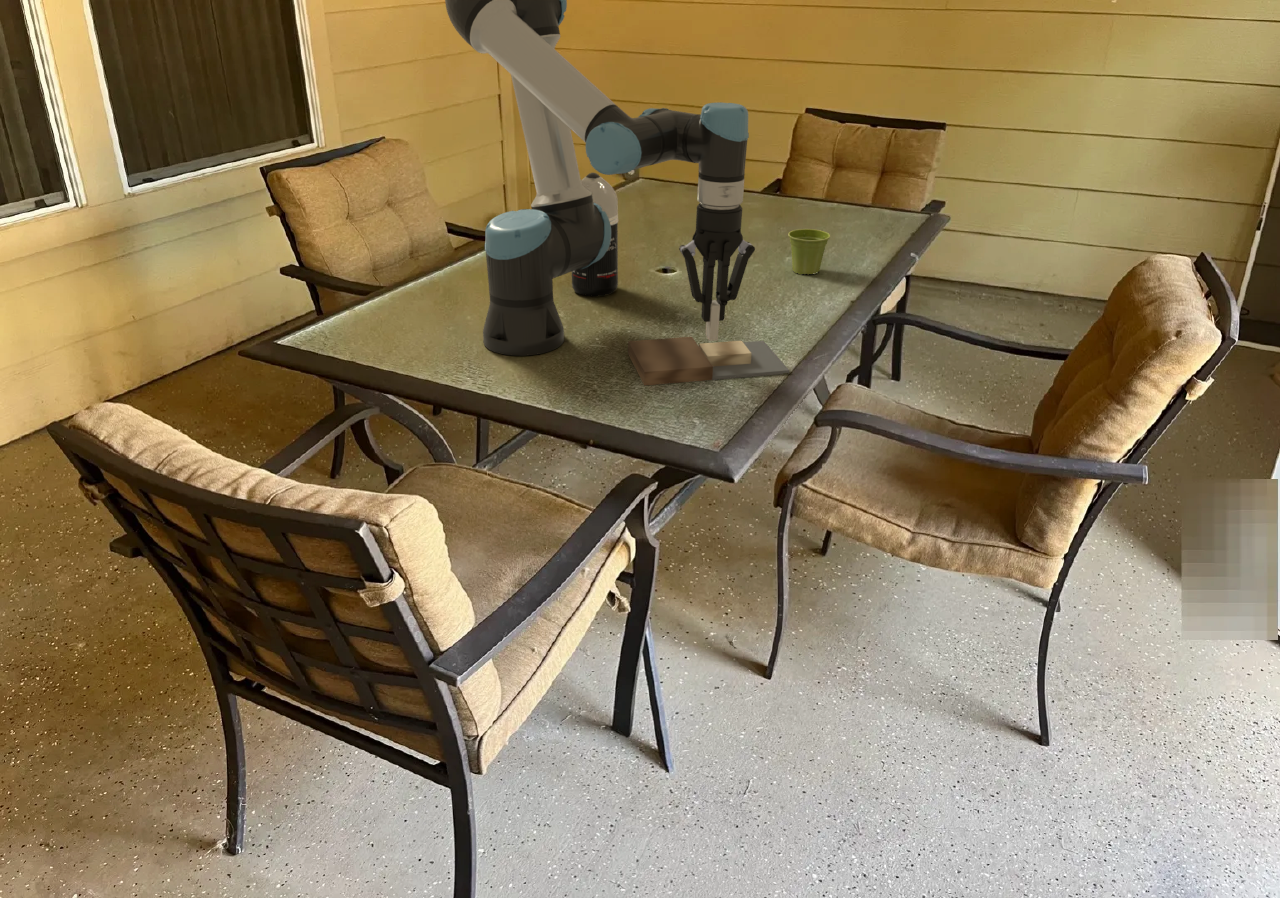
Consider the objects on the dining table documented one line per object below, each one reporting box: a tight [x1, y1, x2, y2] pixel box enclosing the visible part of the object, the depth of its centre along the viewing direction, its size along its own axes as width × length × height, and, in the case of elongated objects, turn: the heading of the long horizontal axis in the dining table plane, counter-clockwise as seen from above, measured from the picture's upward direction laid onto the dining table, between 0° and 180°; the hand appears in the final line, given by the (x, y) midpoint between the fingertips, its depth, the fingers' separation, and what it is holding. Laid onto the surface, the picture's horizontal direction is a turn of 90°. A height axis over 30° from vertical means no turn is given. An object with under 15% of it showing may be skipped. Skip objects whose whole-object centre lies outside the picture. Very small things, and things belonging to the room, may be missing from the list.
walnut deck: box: [627, 336, 713, 386], centre depth 161 cm, size 12×14×2 cm
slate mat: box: [711, 340, 790, 381], centre depth 164 cm, size 14×14×1 cm
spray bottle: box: [571, 172, 619, 297], centre depth 191 cm, size 10×10×25 cm
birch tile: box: [698, 340, 751, 366], centre depth 163 cm, size 8×6×2 cm
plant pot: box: [787, 228, 831, 275], centre depth 208 cm, size 9×9×9 cm
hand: (711, 337), depth 161 cm, fingers closed
